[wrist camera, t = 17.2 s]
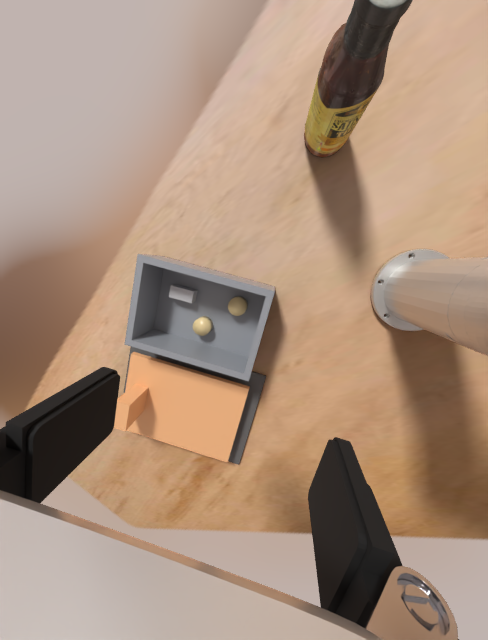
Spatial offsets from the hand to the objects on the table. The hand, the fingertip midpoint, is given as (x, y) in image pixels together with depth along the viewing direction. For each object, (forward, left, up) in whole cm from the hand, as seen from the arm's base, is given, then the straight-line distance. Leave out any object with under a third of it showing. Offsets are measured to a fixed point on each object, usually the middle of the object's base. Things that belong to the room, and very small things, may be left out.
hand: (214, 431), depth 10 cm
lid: (+9, +22, -32) cm, 40 cm away
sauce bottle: (-3, -27, -33) cm, 43 cm away
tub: (+8, +3, -33) cm, 34 cm away
